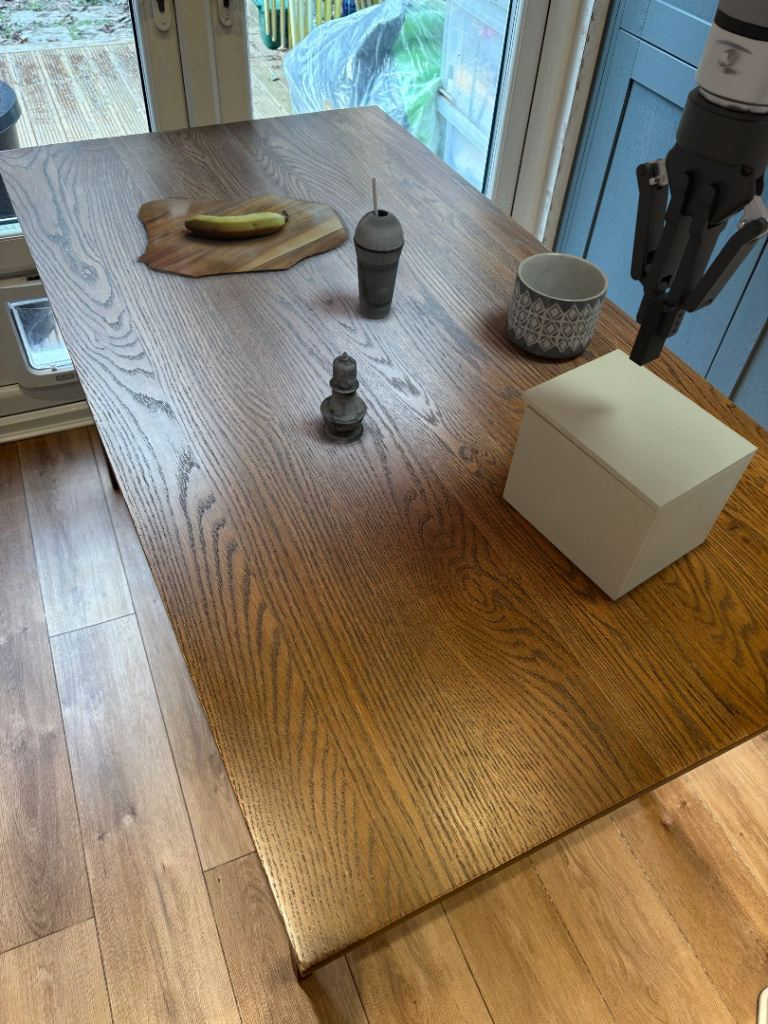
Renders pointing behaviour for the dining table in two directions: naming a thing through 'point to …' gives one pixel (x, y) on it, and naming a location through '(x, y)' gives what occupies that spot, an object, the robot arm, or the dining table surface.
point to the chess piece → (343, 403)
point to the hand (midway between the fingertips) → (643, 358)
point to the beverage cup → (377, 259)
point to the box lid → (639, 428)
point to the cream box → (605, 509)
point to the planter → (555, 304)
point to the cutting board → (236, 234)
